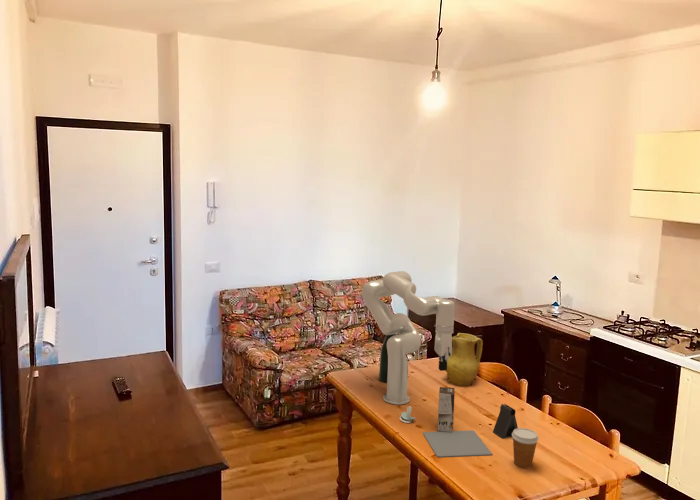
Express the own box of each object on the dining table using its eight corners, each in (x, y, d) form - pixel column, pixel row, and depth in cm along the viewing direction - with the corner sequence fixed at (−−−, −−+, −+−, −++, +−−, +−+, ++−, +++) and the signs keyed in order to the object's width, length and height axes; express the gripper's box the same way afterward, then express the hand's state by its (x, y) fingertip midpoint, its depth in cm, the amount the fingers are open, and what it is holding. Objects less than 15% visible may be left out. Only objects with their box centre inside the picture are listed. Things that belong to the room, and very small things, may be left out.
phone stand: (509, 429, 236) (511, 402, 234) (519, 435, 230) (521, 407, 229) (492, 432, 232) (494, 405, 231) (501, 438, 227) (504, 410, 225)
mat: (422, 433, 229) (422, 432, 229) (473, 431, 232) (473, 430, 232) (437, 457, 209) (437, 456, 209) (492, 455, 213) (492, 453, 213)
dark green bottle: (377, 376, 293) (380, 315, 289) (396, 376, 294) (399, 315, 290) (380, 383, 283) (383, 320, 279) (400, 383, 284) (403, 320, 280)
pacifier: (406, 425, 236) (417, 422, 239) (406, 411, 236) (417, 408, 239) (396, 418, 243) (407, 415, 246) (396, 405, 242) (407, 402, 245)
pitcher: (442, 373, 299) (447, 329, 295) (477, 378, 297) (483, 333, 293) (443, 386, 283) (448, 339, 278) (480, 391, 280) (486, 344, 276)
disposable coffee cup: (506, 456, 212) (509, 426, 210) (531, 457, 212) (534, 428, 210) (513, 469, 203) (515, 438, 201) (539, 470, 202) (542, 439, 201)
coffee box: (452, 432, 229) (454, 394, 228) (437, 430, 231) (438, 392, 230) (453, 424, 238) (454, 387, 237) (438, 422, 240) (439, 386, 238)
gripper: (431, 324, 245) (429, 364, 247) (441, 333, 230) (439, 376, 232) (447, 324, 246) (445, 364, 248) (458, 333, 231) (456, 375, 233)
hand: (442, 369), depth 240 cm, fingers closed
